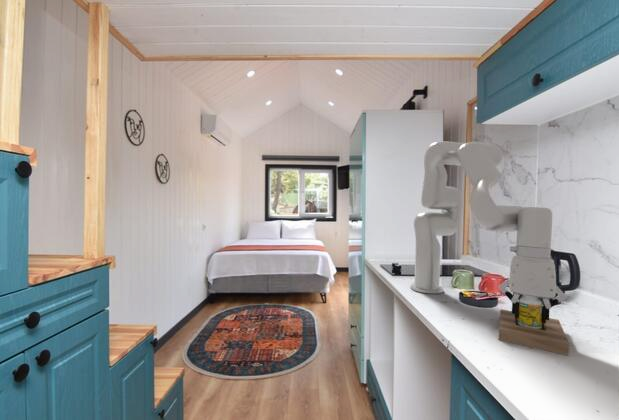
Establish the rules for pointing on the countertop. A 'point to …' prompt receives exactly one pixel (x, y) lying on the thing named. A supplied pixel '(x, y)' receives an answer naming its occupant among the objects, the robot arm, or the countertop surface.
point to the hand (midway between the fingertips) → (529, 318)
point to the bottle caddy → (533, 334)
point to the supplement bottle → (530, 312)
